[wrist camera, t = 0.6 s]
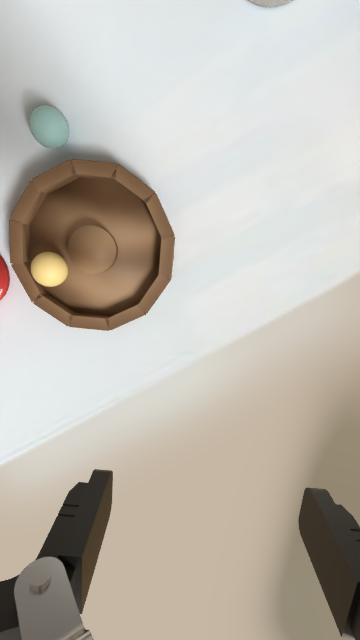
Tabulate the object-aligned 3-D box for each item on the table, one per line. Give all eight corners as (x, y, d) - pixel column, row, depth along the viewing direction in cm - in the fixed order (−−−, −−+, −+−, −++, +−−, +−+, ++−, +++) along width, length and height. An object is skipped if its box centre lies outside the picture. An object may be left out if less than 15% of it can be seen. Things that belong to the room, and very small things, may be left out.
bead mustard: (40, 250, 34) (23, 250, 31) (73, 253, 34) (59, 253, 31) (40, 283, 35) (23, 286, 31) (72, 286, 35) (59, 290, 32)
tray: (21, 160, 33) (7, 152, 31) (180, 176, 34) (180, 169, 31) (24, 316, 37) (12, 321, 35) (166, 330, 37) (165, 336, 35)
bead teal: (40, 113, 32) (21, 95, 29) (74, 117, 32) (60, 99, 29) (40, 151, 33) (22, 138, 30) (74, 155, 33) (60, 142, 30)
